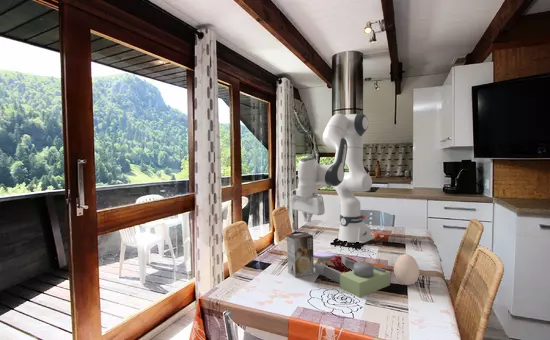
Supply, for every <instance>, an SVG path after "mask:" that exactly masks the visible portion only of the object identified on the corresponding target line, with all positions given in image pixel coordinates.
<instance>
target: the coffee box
mask: <svg viewBox="0 0 550 340" xmlns="http://www.w3.org/2000/svg"><path fill="white" fill-rule="evenodd" d="M286 240H287V241H286V242H287V244H286V245H287V246H286V247H287V252H286V253H287V273H288V274H289V275H290V276H293V277H294V278H300V277H304V276H307V275H308V276H309V275H312V274H315V267H314V263H315V262H314V257H313V253H314V235H313V234H310V233H309V232H305V231H303V232H296V233H291V234H287V235H286Z"/></svg>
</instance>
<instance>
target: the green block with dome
mask: <svg viewBox="0 0 550 340" xmlns="http://www.w3.org/2000/svg"><path fill="white" fill-rule="evenodd" d="M342 273H343V274H340V283H339V288H340V289H341V290H344V291H346V292H347V293H350V294H351V295H353V296H355V297H357V298H362V297H364V296H367V295H369V294H372V293H374V292H376V291H379V290H382V289H383V288H387V287H389V286H391V271H389V270H386V269H384V268H383V267H379V266H377V265H373V264H371V263H369V262H363V261H361V262H357V263H355V264H354V270H352V271H351V270H348V271H347V272H342Z"/></svg>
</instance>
